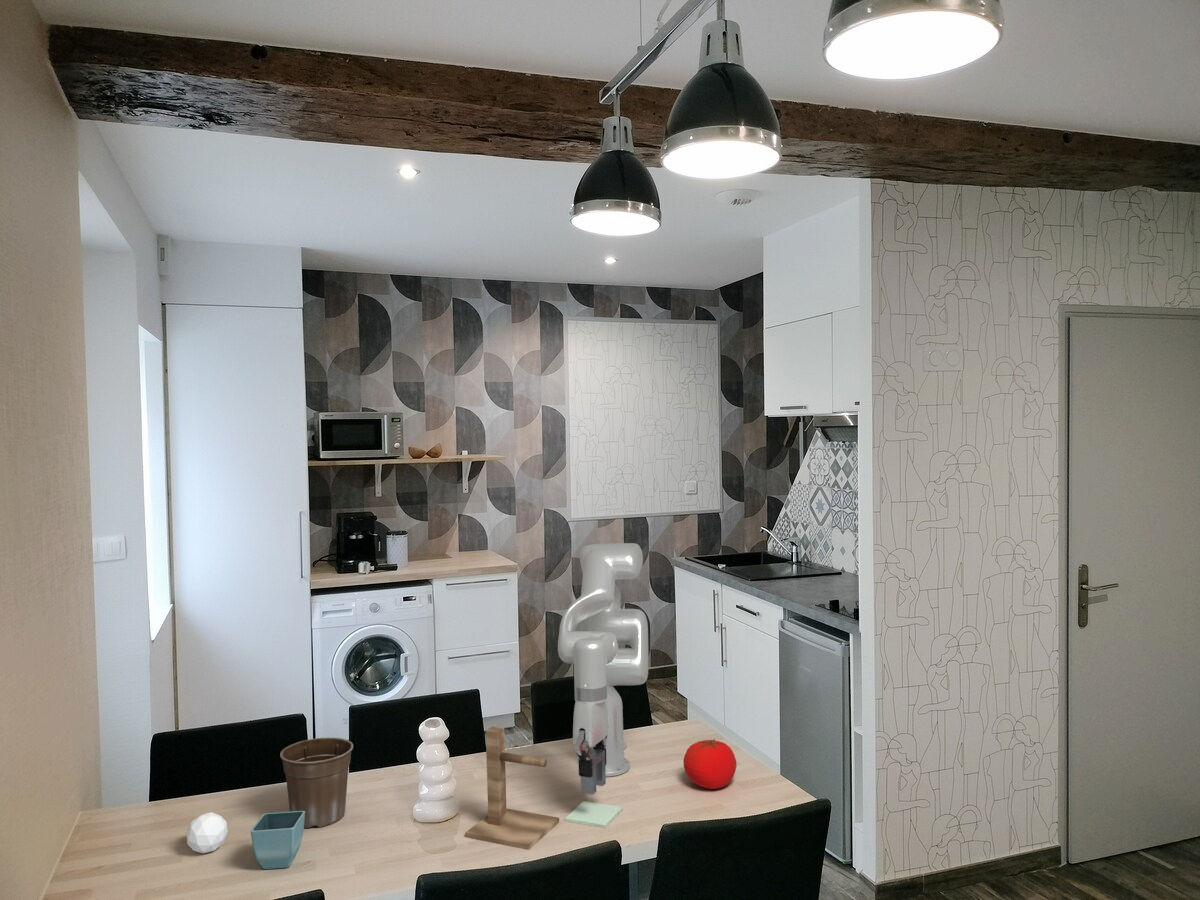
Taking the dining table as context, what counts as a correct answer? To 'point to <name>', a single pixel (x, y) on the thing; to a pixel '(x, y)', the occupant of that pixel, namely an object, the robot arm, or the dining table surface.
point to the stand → (500, 820)
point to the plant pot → (317, 778)
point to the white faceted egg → (206, 832)
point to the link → (595, 772)
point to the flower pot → (277, 838)
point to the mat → (594, 814)
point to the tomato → (710, 763)
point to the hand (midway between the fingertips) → (592, 769)
